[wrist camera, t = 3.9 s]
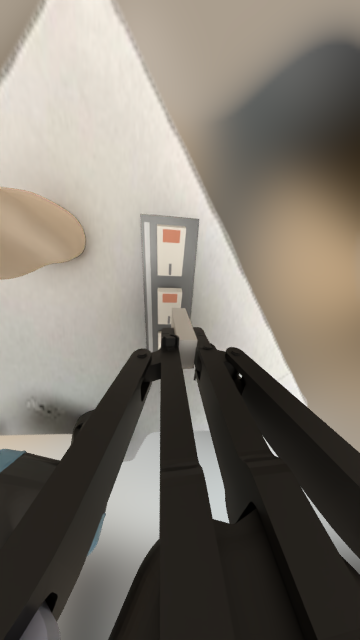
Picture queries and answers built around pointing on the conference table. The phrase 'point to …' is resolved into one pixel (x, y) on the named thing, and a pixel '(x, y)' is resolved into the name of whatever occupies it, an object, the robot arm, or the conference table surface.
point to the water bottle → (35, 233)
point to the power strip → (156, 281)
